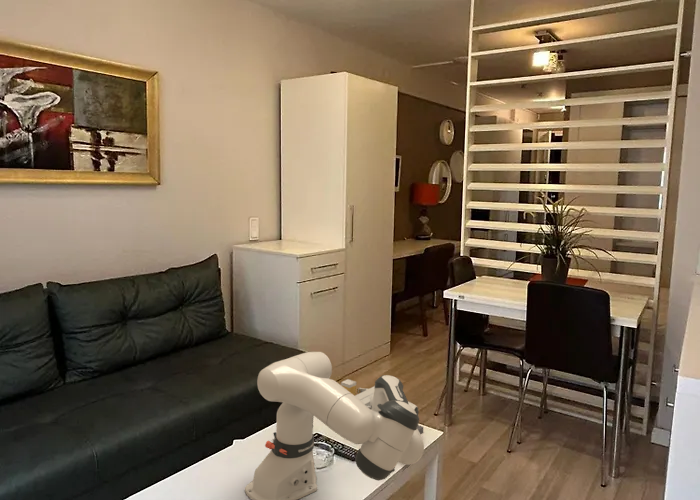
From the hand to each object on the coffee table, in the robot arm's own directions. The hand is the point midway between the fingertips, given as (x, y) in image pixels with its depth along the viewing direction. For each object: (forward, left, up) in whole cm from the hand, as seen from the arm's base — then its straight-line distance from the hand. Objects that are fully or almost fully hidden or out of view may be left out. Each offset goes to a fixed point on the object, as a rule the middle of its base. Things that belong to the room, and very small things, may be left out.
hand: (350, 393), depth 202 cm
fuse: (0, +1, -9) cm, 9 cm away
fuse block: (+3, -22, -10) cm, 24 cm away
